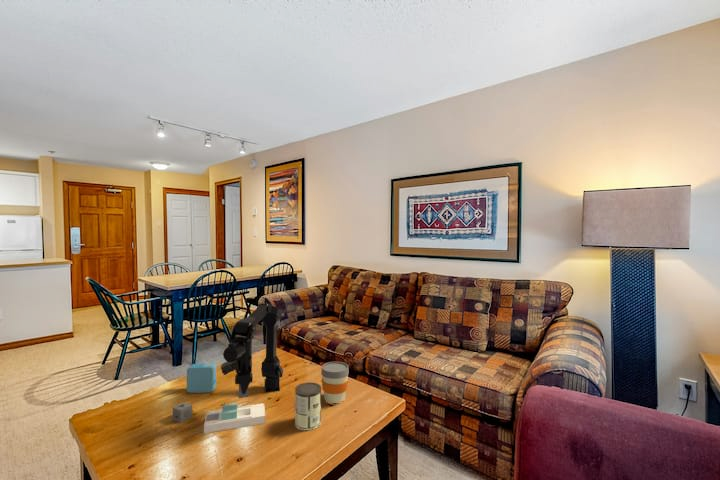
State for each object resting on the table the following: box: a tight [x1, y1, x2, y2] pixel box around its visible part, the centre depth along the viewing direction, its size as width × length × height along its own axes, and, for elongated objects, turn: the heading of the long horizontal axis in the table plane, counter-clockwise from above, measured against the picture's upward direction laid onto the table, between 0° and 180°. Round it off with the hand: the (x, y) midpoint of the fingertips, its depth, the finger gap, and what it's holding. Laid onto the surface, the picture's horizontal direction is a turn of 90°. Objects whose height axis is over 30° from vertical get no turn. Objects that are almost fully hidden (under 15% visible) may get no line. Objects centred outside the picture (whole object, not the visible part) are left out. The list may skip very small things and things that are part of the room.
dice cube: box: [172, 401, 193, 424], centre depth 132 cm, size 5×5×5 cm
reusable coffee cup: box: [321, 361, 350, 403], centre depth 149 cm, size 13×13×15 cm
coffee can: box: [294, 382, 322, 431], centre depth 130 cm, size 10×10×14 cm
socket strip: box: [203, 403, 266, 434], centre depth 131 cm, size 22×10×3 cm, turn 109°
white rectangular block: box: [238, 384, 249, 399], centre depth 132 cm, size 4×4×6 cm
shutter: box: [221, 402, 238, 420], centre depth 130 cm, size 6×7×2 cm
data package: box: [186, 363, 217, 394], centre depth 156 cm, size 12×4×12 cm, turn 93°
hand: (243, 391), depth 132 cm, fingers closed on white rectangular block, 4 cm apart
